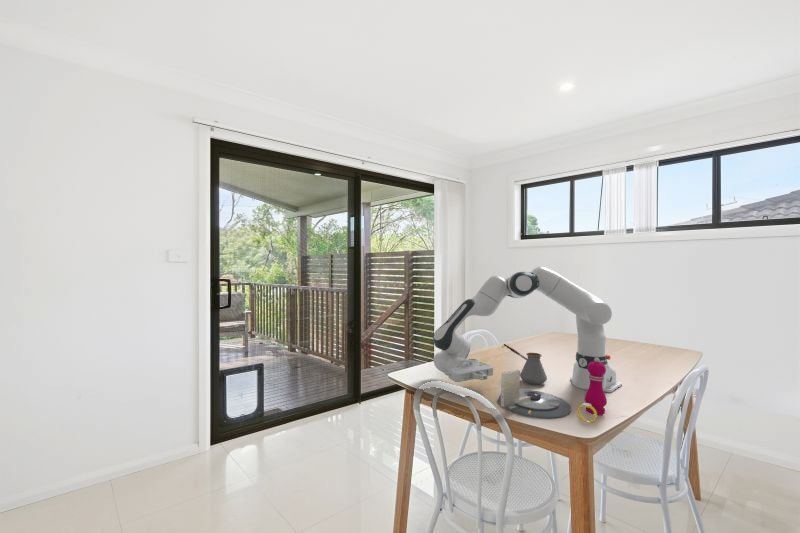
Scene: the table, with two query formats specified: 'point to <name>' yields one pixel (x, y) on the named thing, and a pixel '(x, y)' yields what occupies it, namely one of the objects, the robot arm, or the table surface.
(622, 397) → the table surface
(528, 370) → the coffee pot
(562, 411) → the dial base
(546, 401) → the dial
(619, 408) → the table surface
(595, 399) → the pepper mill
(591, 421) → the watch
